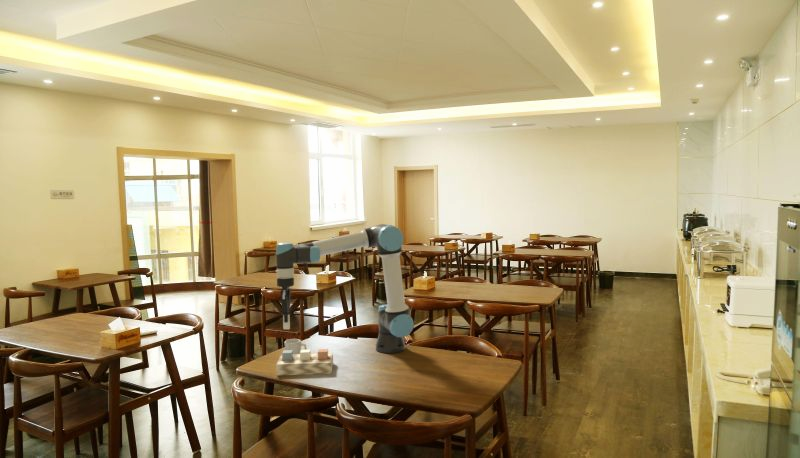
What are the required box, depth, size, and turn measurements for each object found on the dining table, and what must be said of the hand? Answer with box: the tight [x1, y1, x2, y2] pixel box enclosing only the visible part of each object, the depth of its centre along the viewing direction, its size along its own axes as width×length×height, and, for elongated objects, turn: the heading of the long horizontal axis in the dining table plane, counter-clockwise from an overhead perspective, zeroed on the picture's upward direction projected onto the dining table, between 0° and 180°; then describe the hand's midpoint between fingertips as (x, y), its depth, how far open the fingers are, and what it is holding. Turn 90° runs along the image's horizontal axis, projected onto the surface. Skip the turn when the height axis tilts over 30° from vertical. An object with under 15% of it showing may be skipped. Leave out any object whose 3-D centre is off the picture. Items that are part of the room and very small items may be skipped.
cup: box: [284, 338, 307, 354], centre depth 256 cm, size 11×8×8 cm
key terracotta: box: [317, 348, 329, 360], centre depth 238 cm, size 4×4×5 cm
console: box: [275, 352, 334, 377], centre depth 238 cm, size 24×14×5 cm, turn 94°
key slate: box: [281, 349, 293, 361], centre depth 237 cm, size 4×4×5 cm
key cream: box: [300, 348, 312, 360], centre depth 238 cm, size 4×4×5 cm
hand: (286, 328), depth 236 cm, fingers closed
